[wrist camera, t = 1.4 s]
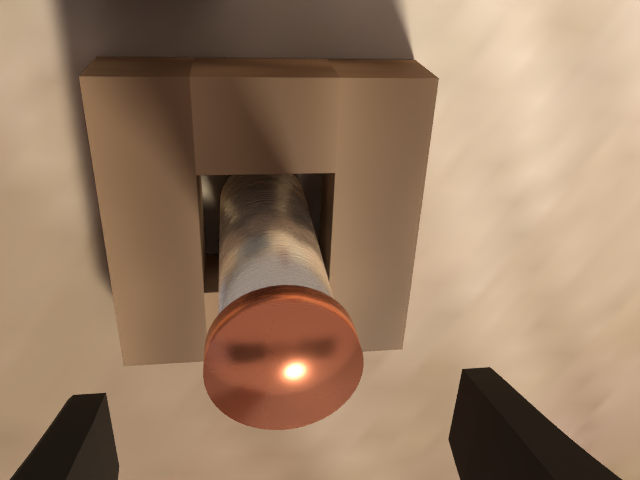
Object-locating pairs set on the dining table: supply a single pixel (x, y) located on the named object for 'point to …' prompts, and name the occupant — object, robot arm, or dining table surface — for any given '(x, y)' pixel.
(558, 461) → the robot arm
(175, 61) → the pin block
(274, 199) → the pin
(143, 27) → the dining table surface
